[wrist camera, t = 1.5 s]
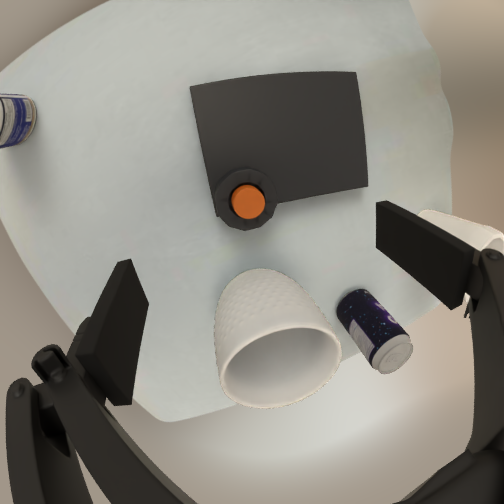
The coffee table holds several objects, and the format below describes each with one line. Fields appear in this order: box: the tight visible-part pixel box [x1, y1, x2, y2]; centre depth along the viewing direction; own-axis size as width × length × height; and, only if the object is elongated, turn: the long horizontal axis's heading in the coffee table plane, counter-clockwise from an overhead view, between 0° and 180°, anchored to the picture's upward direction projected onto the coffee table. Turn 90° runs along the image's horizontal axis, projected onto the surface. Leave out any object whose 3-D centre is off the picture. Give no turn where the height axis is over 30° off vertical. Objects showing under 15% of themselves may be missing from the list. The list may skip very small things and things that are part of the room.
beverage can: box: [337, 289, 413, 374], centre depth 33 cm, size 6×6×12 cm
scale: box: [190, 71, 368, 231], centre depth 26 cm, size 17×14×4 cm
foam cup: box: [417, 209, 504, 303], centre depth 30 cm, size 10×9×13 cm
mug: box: [214, 268, 342, 409], centre depth 29 cm, size 15×11×13 cm
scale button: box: [231, 185, 265, 219], centre depth 25 cm, size 3×3×2 cm
